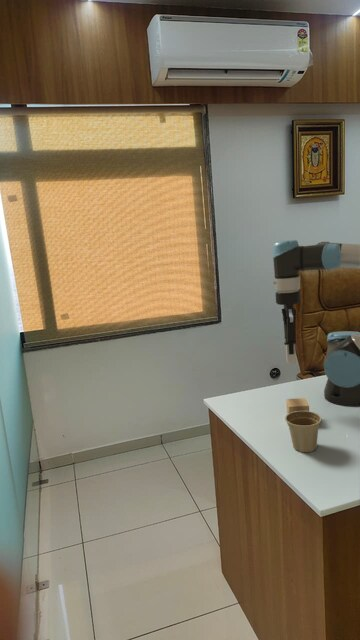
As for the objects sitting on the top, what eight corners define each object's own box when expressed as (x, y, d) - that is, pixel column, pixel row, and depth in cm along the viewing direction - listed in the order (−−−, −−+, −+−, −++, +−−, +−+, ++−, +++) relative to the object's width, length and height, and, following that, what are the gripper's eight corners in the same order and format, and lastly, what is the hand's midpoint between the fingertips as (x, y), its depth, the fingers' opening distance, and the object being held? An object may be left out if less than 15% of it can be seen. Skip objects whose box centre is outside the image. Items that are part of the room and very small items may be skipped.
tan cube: (306, 415, 132) (305, 398, 131) (310, 424, 126) (309, 405, 125) (287, 416, 133) (286, 399, 132) (289, 425, 127) (288, 406, 126)
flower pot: (298, 459, 108) (297, 428, 106) (280, 443, 117) (278, 415, 115) (329, 450, 110) (328, 420, 108) (309, 436, 119) (308, 408, 117)
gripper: (273, 289, 136) (277, 357, 141) (277, 294, 123) (281, 370, 128) (296, 287, 135) (300, 356, 140) (303, 292, 122) (306, 368, 127)
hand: (291, 362), depth 134 cm, fingers closed
